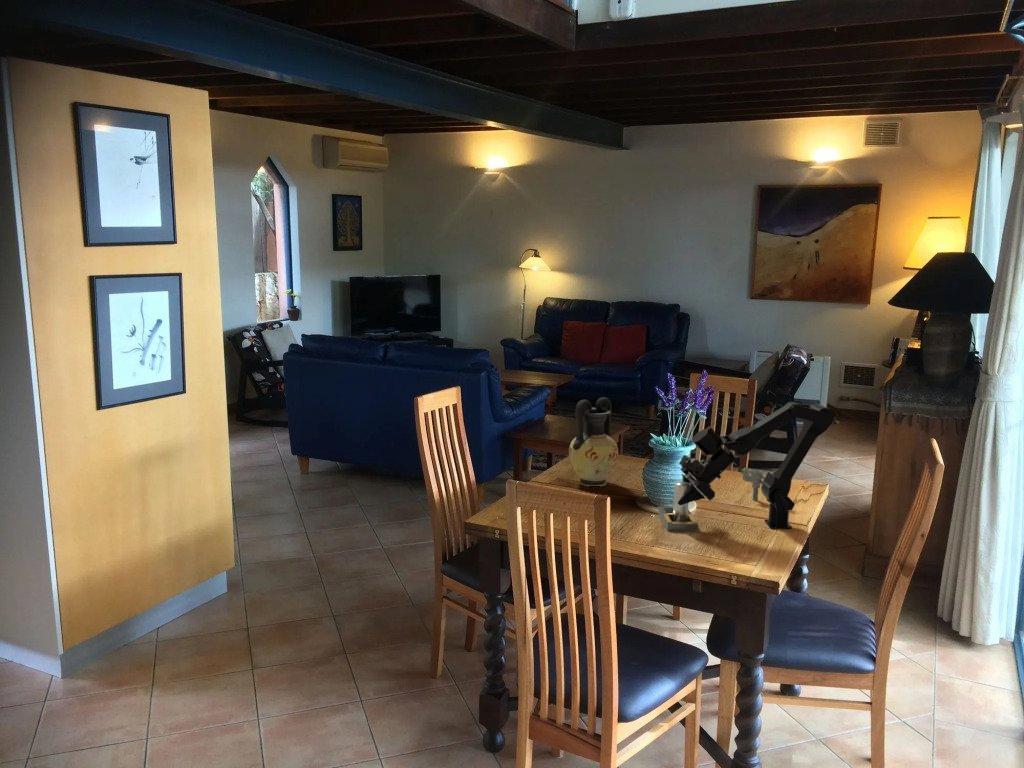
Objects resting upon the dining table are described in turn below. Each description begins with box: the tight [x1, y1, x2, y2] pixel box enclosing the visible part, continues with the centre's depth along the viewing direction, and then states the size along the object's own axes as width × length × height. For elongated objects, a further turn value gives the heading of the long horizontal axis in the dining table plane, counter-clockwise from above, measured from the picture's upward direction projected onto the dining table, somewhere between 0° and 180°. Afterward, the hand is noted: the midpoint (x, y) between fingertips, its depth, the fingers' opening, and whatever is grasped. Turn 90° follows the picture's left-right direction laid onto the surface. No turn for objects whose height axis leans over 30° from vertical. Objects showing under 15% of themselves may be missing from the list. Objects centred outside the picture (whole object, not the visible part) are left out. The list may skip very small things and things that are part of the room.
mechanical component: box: [740, 467, 766, 501], centre depth 275 cm, size 3×10×10 cm, turn 53°
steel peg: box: [672, 480, 690, 522], centre depth 250 cm, size 4×4×12 cm
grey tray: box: [657, 505, 699, 532], centre depth 254 cm, size 16×9×2 cm, turn 0°
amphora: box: [568, 396, 619, 487], centre depth 289 cm, size 18×17×30 cm
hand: (676, 501), depth 249 cm, fingers open, 5 cm apart
